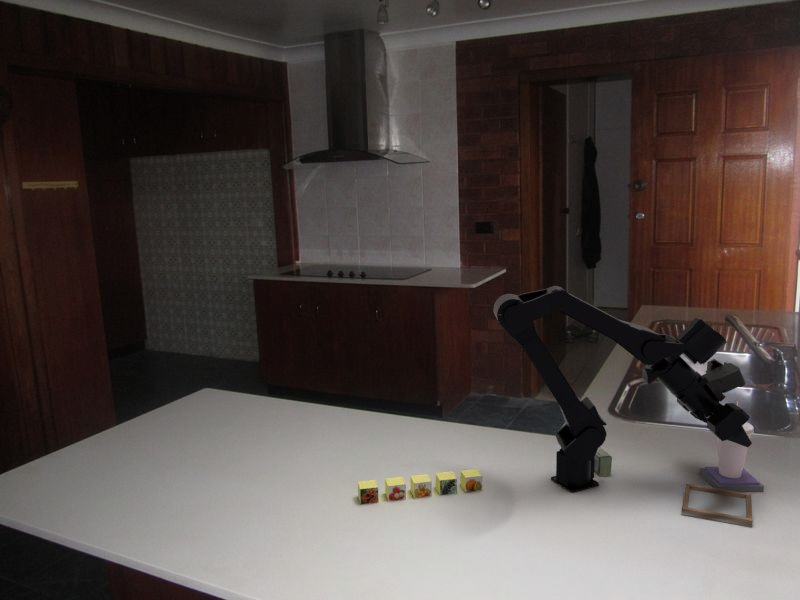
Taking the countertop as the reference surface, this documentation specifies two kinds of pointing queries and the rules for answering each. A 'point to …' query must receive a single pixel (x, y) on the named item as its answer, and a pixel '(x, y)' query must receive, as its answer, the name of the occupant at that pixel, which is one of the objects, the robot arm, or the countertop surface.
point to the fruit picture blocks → (420, 486)
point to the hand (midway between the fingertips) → (741, 438)
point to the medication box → (602, 463)
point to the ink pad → (731, 481)
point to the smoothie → (732, 454)
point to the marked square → (717, 504)
